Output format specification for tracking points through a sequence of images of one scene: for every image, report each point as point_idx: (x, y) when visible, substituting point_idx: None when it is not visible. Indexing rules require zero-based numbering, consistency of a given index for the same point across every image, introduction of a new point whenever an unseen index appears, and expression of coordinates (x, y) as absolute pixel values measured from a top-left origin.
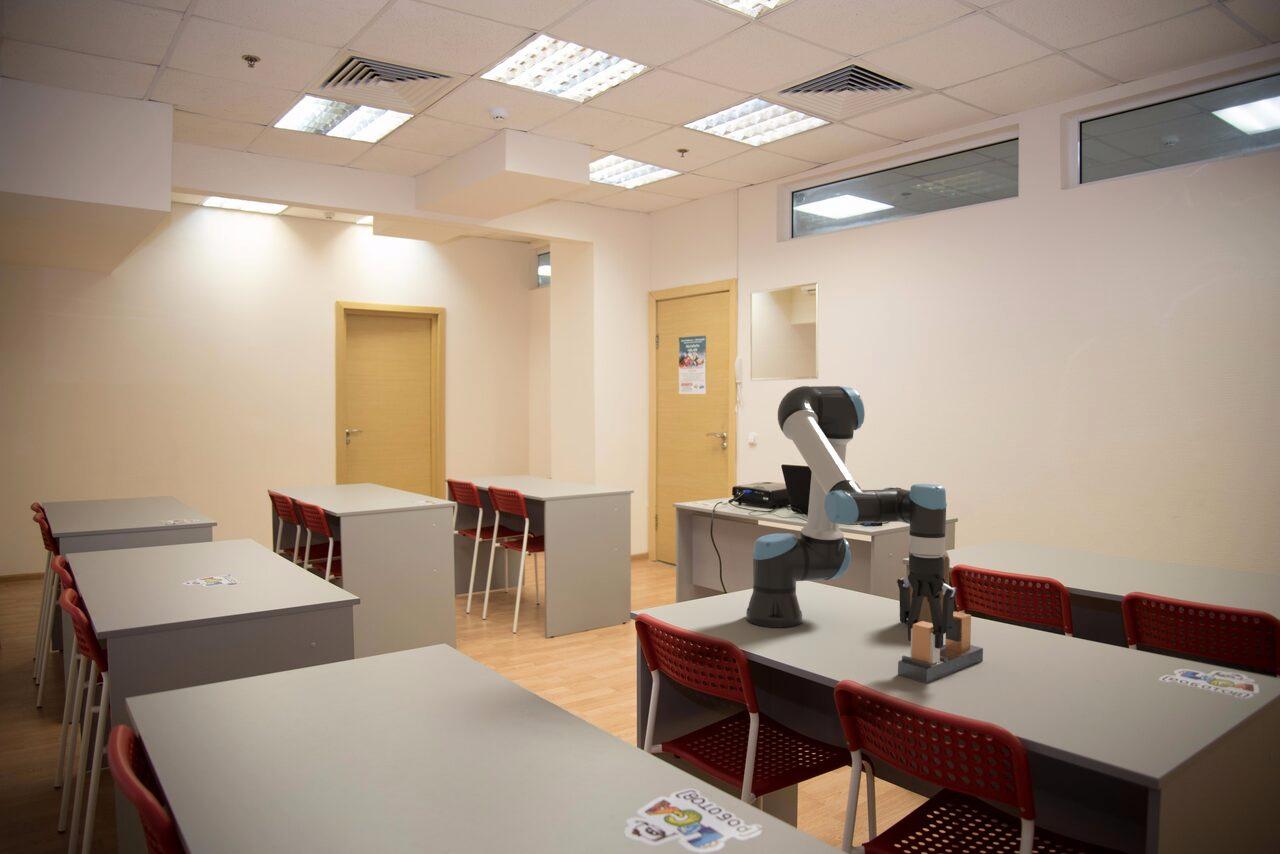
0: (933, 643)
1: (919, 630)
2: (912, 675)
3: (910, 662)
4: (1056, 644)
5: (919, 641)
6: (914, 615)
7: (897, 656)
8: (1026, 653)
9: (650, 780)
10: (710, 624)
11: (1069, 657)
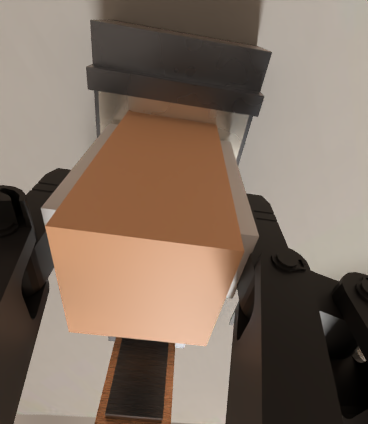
0: (72, 169)
1: (166, 210)
2: (182, 33)
3: (208, 79)
4: (86, 401)
5: (170, 162)
6: (256, 363)
7: (305, 235)
8: (88, 366)
9: None
10: None
11: (35, 376)
